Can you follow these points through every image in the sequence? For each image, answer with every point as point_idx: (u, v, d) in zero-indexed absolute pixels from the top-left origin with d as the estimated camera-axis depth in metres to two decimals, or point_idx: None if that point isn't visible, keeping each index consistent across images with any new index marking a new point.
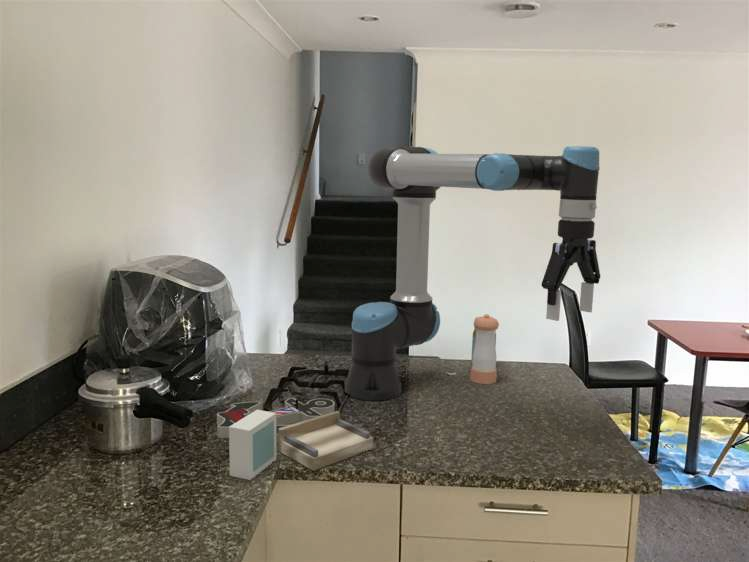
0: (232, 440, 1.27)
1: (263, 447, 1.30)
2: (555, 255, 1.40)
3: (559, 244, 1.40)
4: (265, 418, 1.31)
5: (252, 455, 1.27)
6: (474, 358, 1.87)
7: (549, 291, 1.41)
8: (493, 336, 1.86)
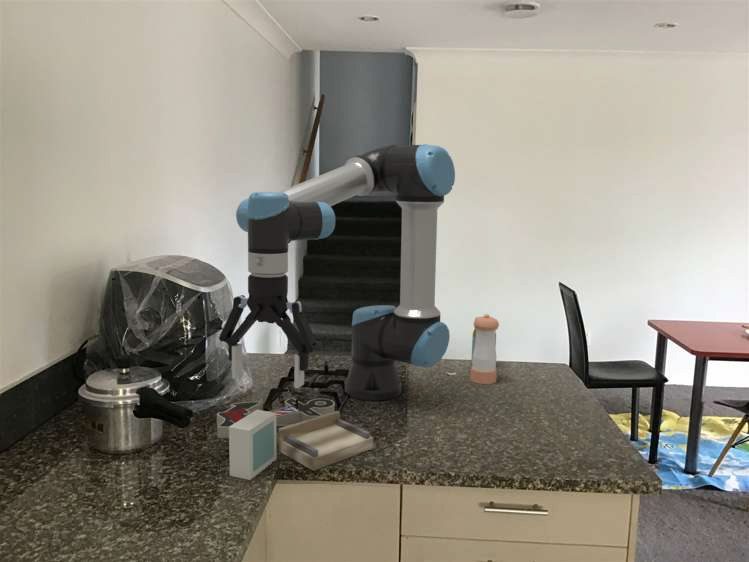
0: (232, 440, 1.27)
1: (263, 447, 1.30)
2: None
3: None
4: (265, 418, 1.31)
5: (252, 455, 1.27)
6: (474, 358, 1.87)
7: None
8: (493, 336, 1.86)
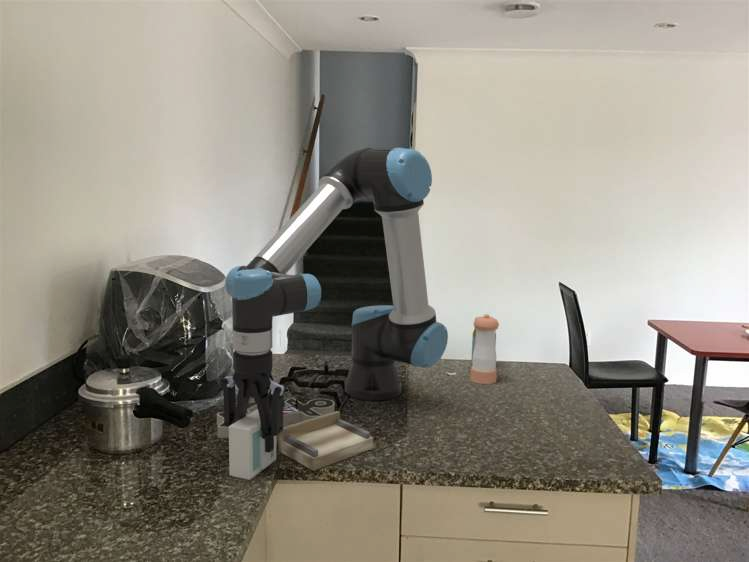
0: (232, 440, 1.27)
1: None
2: None
3: None
4: None
5: (252, 455, 1.27)
6: (474, 358, 1.87)
7: None
8: (493, 336, 1.86)
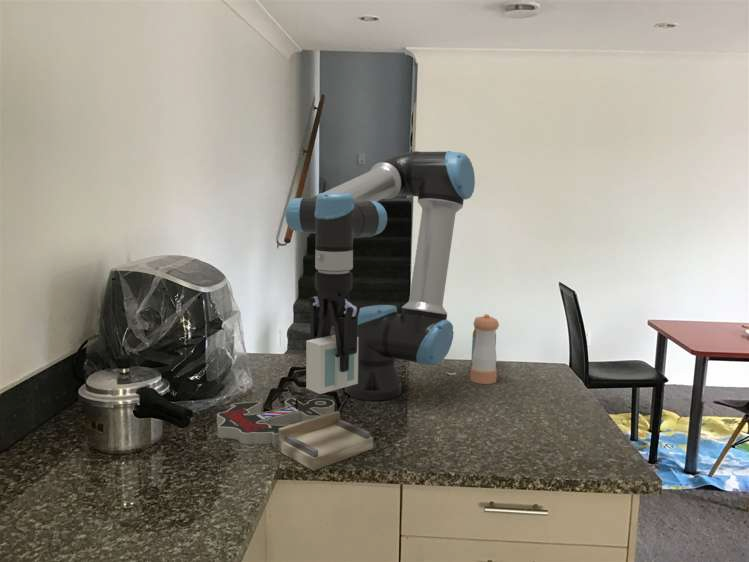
0: (308, 354, 1.33)
1: None
2: None
3: None
4: None
5: (324, 370, 1.32)
6: (474, 358, 1.87)
7: None
8: (493, 336, 1.86)
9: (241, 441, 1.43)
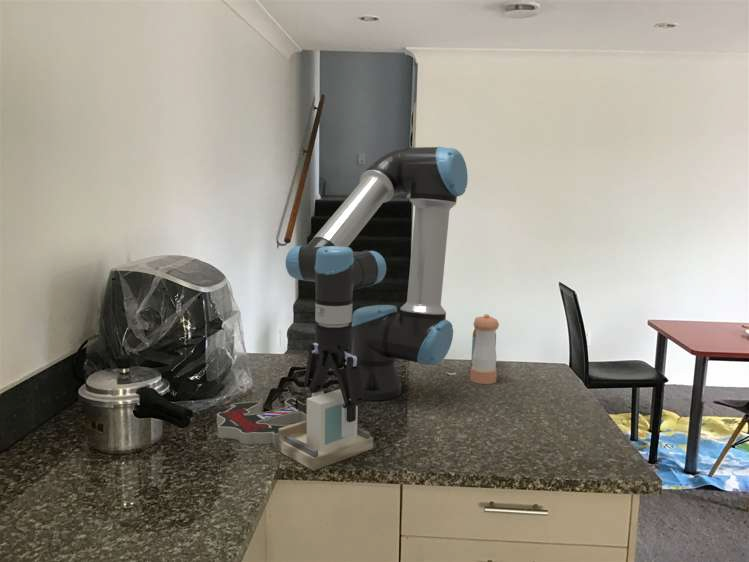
0: (308, 411, 1.35)
1: (339, 423, 1.36)
2: None
3: None
4: None
5: (324, 428, 1.34)
6: (474, 358, 1.87)
7: None
8: (493, 336, 1.86)
9: (241, 441, 1.43)
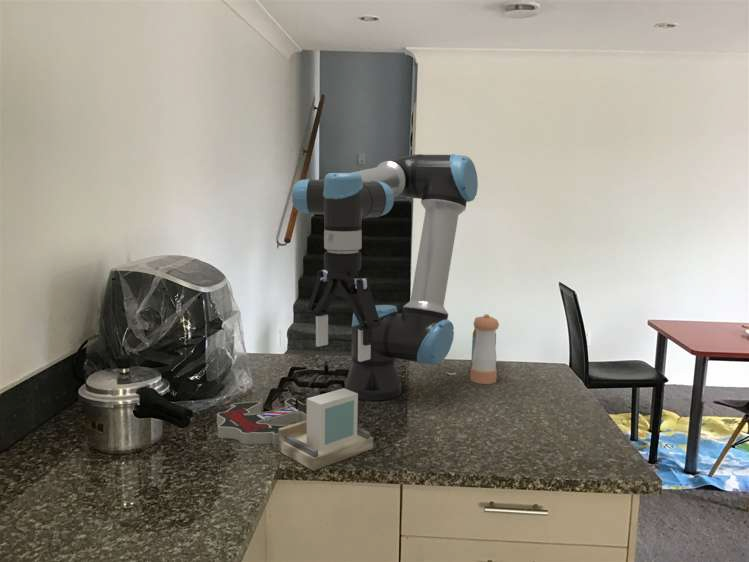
0: (308, 411, 1.35)
1: (339, 423, 1.36)
2: None
3: None
4: (344, 396, 1.37)
5: (324, 428, 1.34)
6: (474, 358, 1.87)
7: None
8: (493, 336, 1.86)
9: (241, 441, 1.43)
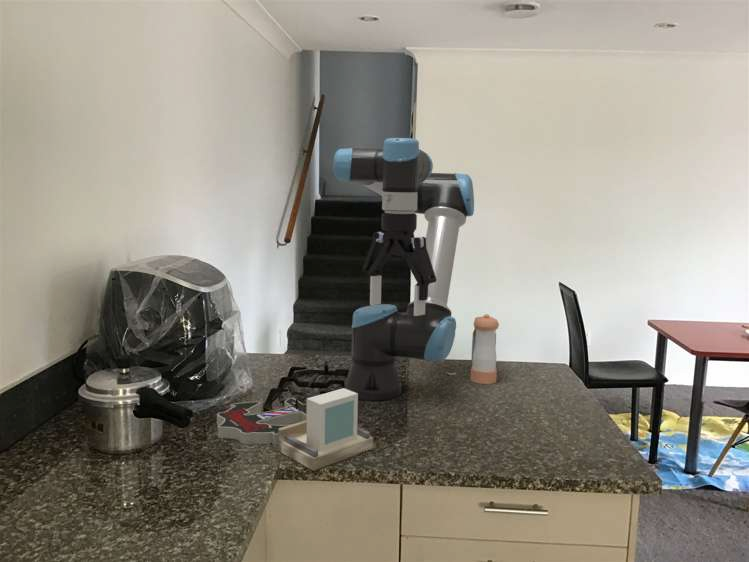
0: (308, 411, 1.35)
1: (339, 423, 1.36)
2: None
3: None
4: (344, 396, 1.37)
5: (324, 428, 1.34)
6: (474, 358, 1.87)
7: None
8: (493, 336, 1.86)
9: (241, 441, 1.43)
